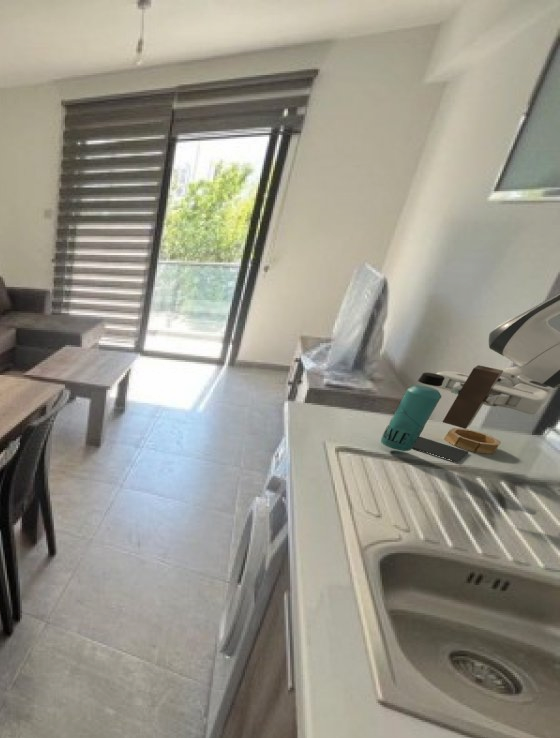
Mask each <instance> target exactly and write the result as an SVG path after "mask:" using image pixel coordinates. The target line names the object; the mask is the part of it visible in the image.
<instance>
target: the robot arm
mask: <svg viewBox="0 0 560 738" xmlns="http://www.w3.org/2000/svg"><path fill="white" fill-rule="evenodd" d="M558 315H560V292H558V293H556V294H555V295H553V296H551V297H549V298H547V299H546V300H543V302H540V303H539V304H537V305H535V306H533V307H531V308H530V309H528V310H526V311H524V312H523V313H520V314H519V315H517V316H514V317H511V318H509V319H508V320H506V321H504V322H502V323H500V324H499V325H497V326H496V327H495V328H494V329H493V330H492V331H490V332H489V335H488V348H489V349H490V350H492V351H493V352H495V353H497V354H499V355H500V356H502V357H505V358H506V359H508V360H509V361H511V362H512V363H514V364H515V365H517V366H509V367H506V368H503V369H500V370H503V372H502V374H501V376H500V377H499V379H498V381H497V382H496V384H495V385H494V387H493V389H492V390H491V392H490V394H489V395H487V396H486V397H485V399H484V401H483V402H484V403H483V405H484V406H487V407H488V406H489V407H498V408H507V409H512V410H514V411H518V412H522V413H525V414H528V415H534V416H535V415H538V414H540V413H541V411H543V409H544V408H545V406H546V405H547V403H548V402H549V399H550V398H551V396H552V394H553V392H554V389H555V388H558V387H560V331H559V330H557V329H556V328H554V327H553V326H551V325H550V324H549V320H551V319H553V318H554V317H557V316H558ZM435 374H438V375H441V376H443V377H444V381H443V383H442V385H441V386H433V388H438V389H441V390H445V391H449V392H450V393H452V394H454V395H458V394H459V392H460V391H461V389H462V387H463V385H464V384H465V382H466V380H467V379H468V377H469V375H470V374H467V373H463V372H459V371H454V370H451V371H450V370H446V371H438V372H436V373H435Z"/></svg>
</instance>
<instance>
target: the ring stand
mask: <svg viewBox="0 0 560 738" xmlns="http://www.w3.org/2000/svg"><path fill="white" fill-rule="evenodd" d="M444 441H446V442H448V443H449V442H450V443H449V444H451V445H452V444H453V447H455V448H459V447H460V448H459V449H462V450H465V451H468V452H472V453H474V452H475V453H478V454H485V455H486V454H487V455H493V454H494V453H496V451H497V449H498V448H499V447H500V445H501V443H502V442H501V440H499V439H497V438H495V437H493V436H491V435H489V434H486V433H483V432H480V431H476V430H473V429H468V428H466V429H464V428H461V427H452V428H451V429H449V431H447V434H446V435H445V437H444Z"/></svg>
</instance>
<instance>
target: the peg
mask: <svg viewBox="0 0 560 738" xmlns="http://www.w3.org/2000/svg"><path fill="white" fill-rule="evenodd" d="M502 372H503V370H501V369H497V368H493V367H488V366H485V365H479V364H478V365H476V366H475V367H473V368H472V370H471V371H470V373H469V374H468V375H469V377H468V379H467V380H466V382H465V384H464V385H463V387H462V389H461V391H460V392H459V394H457V396H456V398H455V399H454V401H453V403H452V404H451V406H450V408H449V410H448V412H447V413H446V415H445V416H444V418H443V420H442V423H444V424H446V425H451V426H454V427H456V428H461V429H468V427H470V426H471V424H472V423H473V422H474V420H475V418H476V416H477V415H478V413H479V411H480V410H481V408H482V407H483V405H484V404H483V403H484V402H483V401H484V399H485V397H486V396H487V395H489V394H490V392H491V390H492V389H493V387H494V385H495V384H496V382H497V381H498V379H499V377H500V376H501V374H502Z"/></svg>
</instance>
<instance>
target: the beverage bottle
mask: <svg viewBox="0 0 560 738" xmlns="http://www.w3.org/2000/svg"><path fill="white" fill-rule="evenodd" d="M417 381H418V383H421V384H423V385H418V384H416V385H413V386H410V387H408V388H407V389H406V391H405V394H404V396H403V397H402V399H401V400H400V402H399V403H398V405H397V407H396V410H395V411H394V413H393V416H392V417H391V419H390V420H389V422H388V424H387V426H386V428H385V429H384V432H383V433H382V436H381V438H380V443H381V444H382V445H383V446H385V447H388V448H390V449H392V450H396V451H402V452H409V451H412V450H413V449H412V448H413V446H414V445H415V443H416V441H417V439H418V438H419V436H420V437H421V434H422V432H423V431H424V428H425V426H426V424H427V422H428V420H429V419H430V417H431V416H432V414H433V412H434V410H435V408H436V407H437V405H438V403H439V401H440V400H441V399H442V394H441V393H440V391H439V389H436V388H435V387H434V386H441V385H442V383H443V381H444V377H443V376H441V375H438V374H436V373H433V372H423V373H421V375H420V377H419V378H418V380H417ZM431 386H432V387H431Z"/></svg>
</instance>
